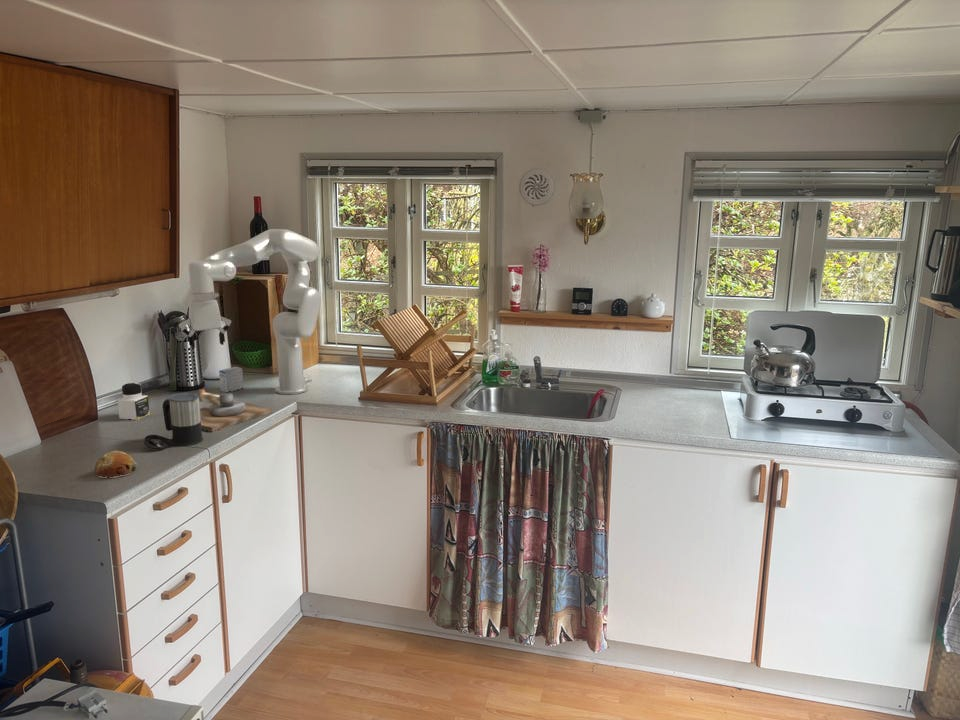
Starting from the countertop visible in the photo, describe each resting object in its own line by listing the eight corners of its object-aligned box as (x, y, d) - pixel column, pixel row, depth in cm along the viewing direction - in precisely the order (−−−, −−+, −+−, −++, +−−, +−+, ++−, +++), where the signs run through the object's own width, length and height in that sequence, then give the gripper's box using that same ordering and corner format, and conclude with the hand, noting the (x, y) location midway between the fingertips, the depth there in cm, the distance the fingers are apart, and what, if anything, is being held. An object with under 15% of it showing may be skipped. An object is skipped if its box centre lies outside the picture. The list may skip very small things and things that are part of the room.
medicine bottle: (137, 420, 252) (133, 386, 249) (119, 419, 253) (115, 385, 251) (150, 414, 259) (146, 381, 256) (132, 413, 260) (128, 381, 257)
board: (229, 404, 271) (229, 399, 271) (271, 412, 260) (271, 407, 260) (168, 422, 250) (168, 417, 249) (211, 431, 238) (211, 426, 238)
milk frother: (209, 437, 233) (205, 393, 230) (180, 454, 218) (175, 406, 214) (170, 435, 236) (165, 391, 232) (138, 451, 221) (133, 404, 217)
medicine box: (237, 387, 296) (235, 366, 294) (244, 388, 294) (242, 367, 292) (220, 391, 290) (218, 370, 288) (227, 392, 288) (225, 371, 286)
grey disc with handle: (252, 409, 258) (251, 393, 256) (225, 418, 248) (223, 401, 246) (214, 401, 268) (213, 386, 266) (186, 409, 258) (185, 393, 256)
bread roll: (122, 477, 209) (110, 452, 209) (147, 466, 206) (134, 440, 205) (95, 490, 200) (82, 464, 200) (121, 478, 197) (108, 452, 196)
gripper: (226, 294, 259) (230, 341, 263) (174, 298, 251) (179, 346, 254) (231, 296, 253) (235, 344, 257) (178, 300, 244) (183, 350, 248)
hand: (207, 345), depth 255 cm, fingers open, 9 cm apart
